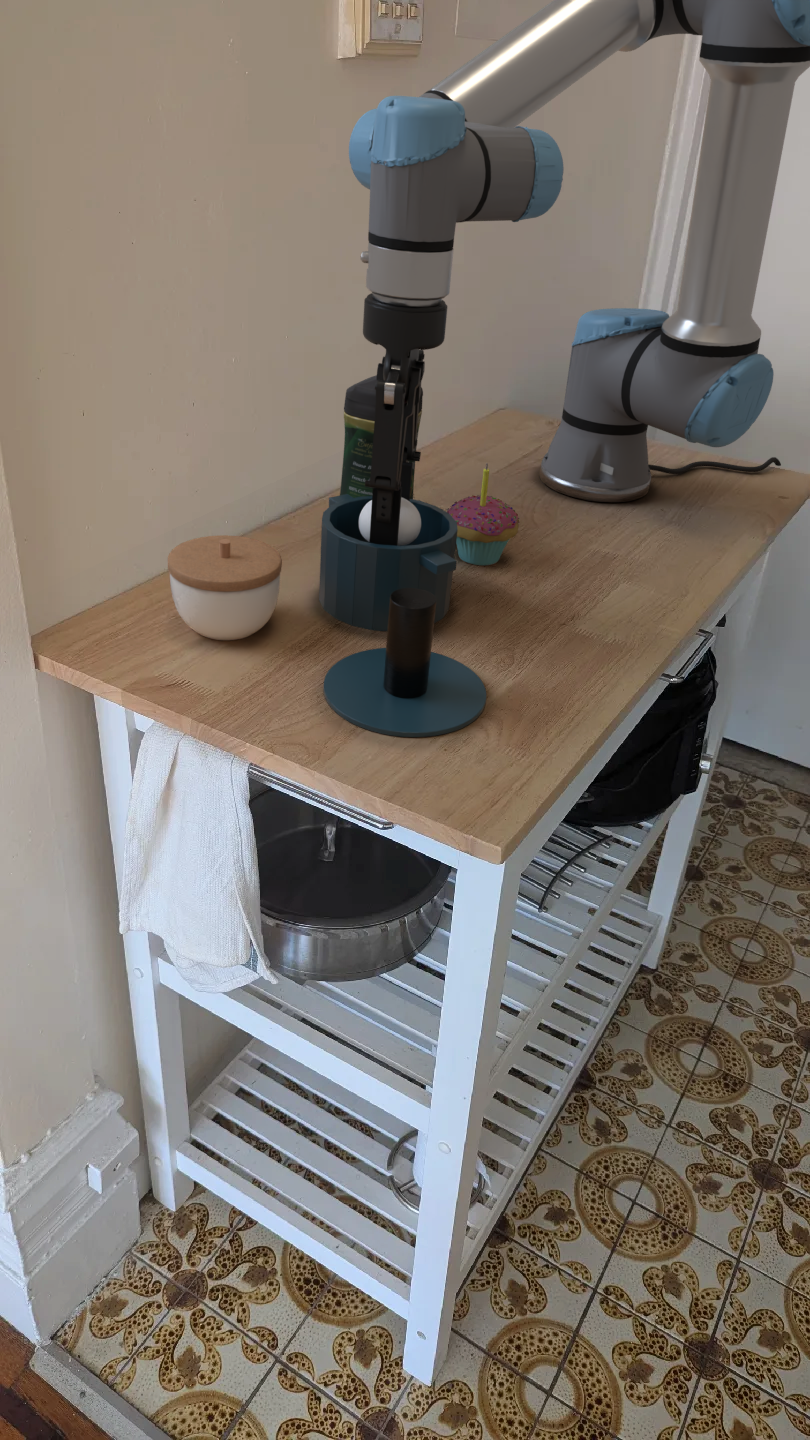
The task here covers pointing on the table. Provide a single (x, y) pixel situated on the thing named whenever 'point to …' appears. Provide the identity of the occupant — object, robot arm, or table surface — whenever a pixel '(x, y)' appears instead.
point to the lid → (406, 678)
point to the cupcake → (483, 526)
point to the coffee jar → (362, 438)
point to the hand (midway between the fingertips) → (388, 535)
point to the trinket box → (225, 584)
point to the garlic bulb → (407, 522)
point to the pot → (382, 564)
